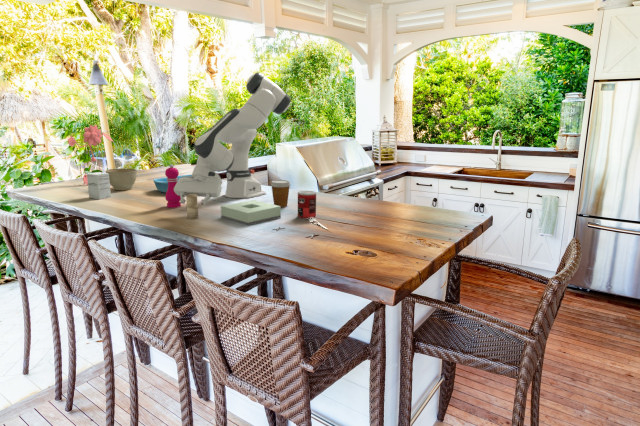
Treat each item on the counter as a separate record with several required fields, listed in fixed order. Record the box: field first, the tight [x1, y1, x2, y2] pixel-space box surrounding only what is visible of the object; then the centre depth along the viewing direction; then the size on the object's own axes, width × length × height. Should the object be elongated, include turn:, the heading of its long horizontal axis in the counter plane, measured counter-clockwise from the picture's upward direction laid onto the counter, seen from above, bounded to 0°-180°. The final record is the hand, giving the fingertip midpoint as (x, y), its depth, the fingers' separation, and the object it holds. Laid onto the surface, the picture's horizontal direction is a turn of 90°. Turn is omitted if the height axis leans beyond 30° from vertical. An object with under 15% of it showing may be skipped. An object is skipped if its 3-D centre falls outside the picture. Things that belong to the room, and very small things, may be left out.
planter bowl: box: [105, 168, 138, 191], centre depth 242 cm, size 16×16×11 cm
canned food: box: [297, 190, 317, 219], centre depth 186 cm, size 8×8×11 cm
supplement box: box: [86, 171, 111, 200], centre depth 218 cm, size 7×7×13 cm
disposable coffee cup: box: [270, 179, 291, 208], centre depth 207 cm, size 10×10×12 cm
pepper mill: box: [164, 163, 182, 209], centre depth 201 cm, size 7×7×20 cm
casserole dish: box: [153, 174, 192, 194], centre depth 245 cm, size 37×22×7 cm, turn 148°
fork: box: [308, 217, 328, 230], centre depth 172 cm, size 3×20×2 cm, turn 26°
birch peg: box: [185, 194, 199, 220], centre depth 181 cm, size 4×4×10 cm
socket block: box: [220, 199, 282, 226], centre depth 184 cm, size 18×18×5 cm
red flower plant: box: [67, 124, 114, 187], centre depth 252 cm, size 15×26×35 cm, turn 152°
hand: (192, 203), depth 181 cm, fingers open, 8 cm apart
